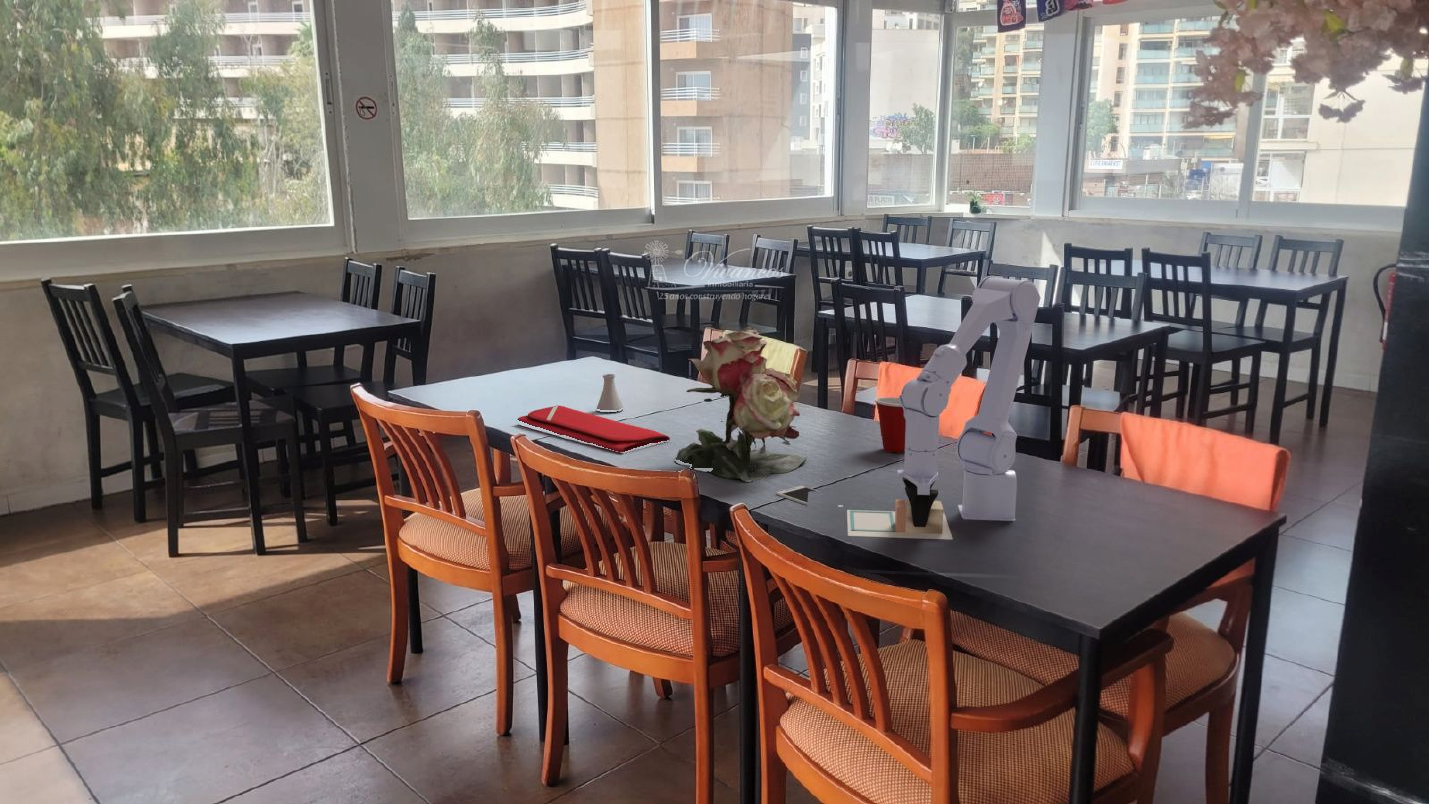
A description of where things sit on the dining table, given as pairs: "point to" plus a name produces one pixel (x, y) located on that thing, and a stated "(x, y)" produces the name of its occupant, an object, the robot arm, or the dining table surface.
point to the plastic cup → (891, 424)
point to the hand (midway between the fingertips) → (918, 521)
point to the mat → (885, 526)
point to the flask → (609, 395)
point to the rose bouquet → (745, 409)
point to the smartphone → (798, 494)
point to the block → (906, 523)
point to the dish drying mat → (592, 428)
